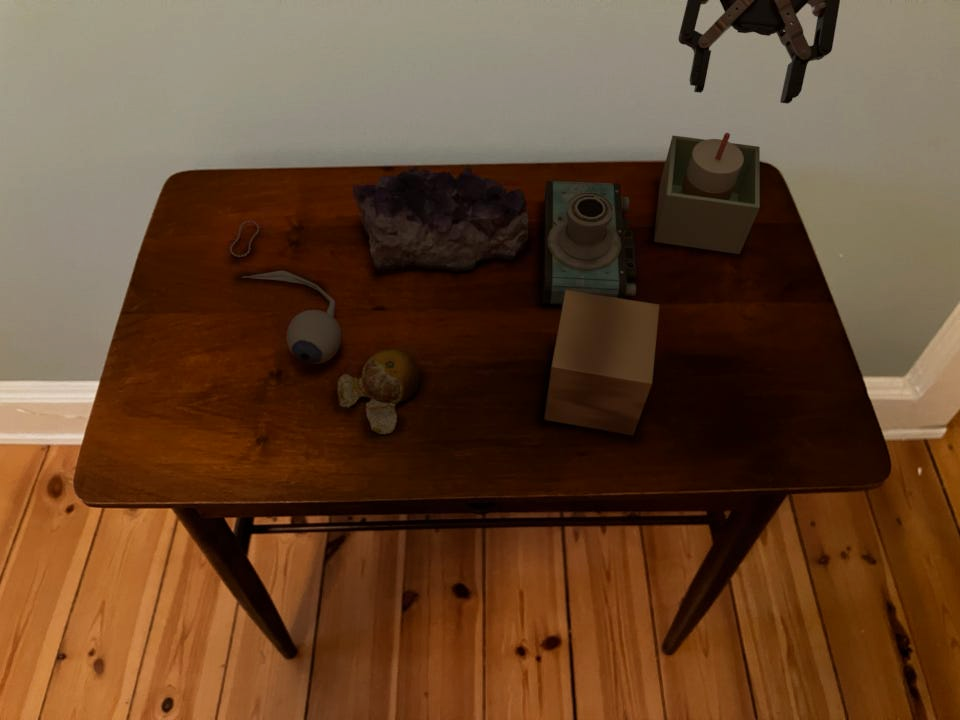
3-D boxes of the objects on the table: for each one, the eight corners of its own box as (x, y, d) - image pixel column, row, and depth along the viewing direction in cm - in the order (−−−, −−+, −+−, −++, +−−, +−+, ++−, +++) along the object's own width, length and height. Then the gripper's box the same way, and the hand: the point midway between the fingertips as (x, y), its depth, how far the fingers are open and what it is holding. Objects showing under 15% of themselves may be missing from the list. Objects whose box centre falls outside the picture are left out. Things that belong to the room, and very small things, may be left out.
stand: (641, 361, 78) (659, 304, 70) (633, 435, 74) (652, 383, 65) (557, 347, 79) (565, 289, 71) (543, 420, 75) (551, 366, 66)
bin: (740, 194, 92) (759, 146, 85) (739, 254, 86) (759, 207, 80) (659, 183, 93) (672, 135, 87) (653, 241, 88) (666, 194, 81)
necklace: (226, 255, 87) (225, 252, 86) (244, 220, 89) (243, 217, 88) (246, 259, 86) (245, 257, 86) (263, 224, 89) (262, 222, 88)
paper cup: (723, 200, 90) (755, 112, 80) (721, 234, 87) (755, 147, 76) (676, 193, 91) (702, 105, 80) (673, 227, 88) (699, 140, 77)
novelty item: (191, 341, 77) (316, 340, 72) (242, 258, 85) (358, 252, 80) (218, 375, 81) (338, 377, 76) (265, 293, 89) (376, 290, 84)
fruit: (327, 393, 76) (321, 375, 73) (385, 344, 80) (381, 324, 77) (383, 441, 73) (379, 424, 70) (441, 387, 77) (439, 368, 74)
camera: (549, 140, 83) (638, 144, 83) (544, 202, 91) (625, 205, 91) (548, 251, 74) (648, 255, 74) (542, 308, 82) (632, 312, 82)
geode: (524, 200, 92) (533, 144, 82) (529, 280, 87) (538, 230, 78) (360, 199, 91) (350, 142, 82) (354, 279, 86) (343, 229, 77)
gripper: (708, -105, 67) (673, 81, 71) (871, -90, 66) (827, 100, 69) (697, -74, 75) (666, 94, 78) (843, -60, 73) (805, 111, 76)
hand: (742, 96), depth 74 cm, fingers open, 8 cm apart
